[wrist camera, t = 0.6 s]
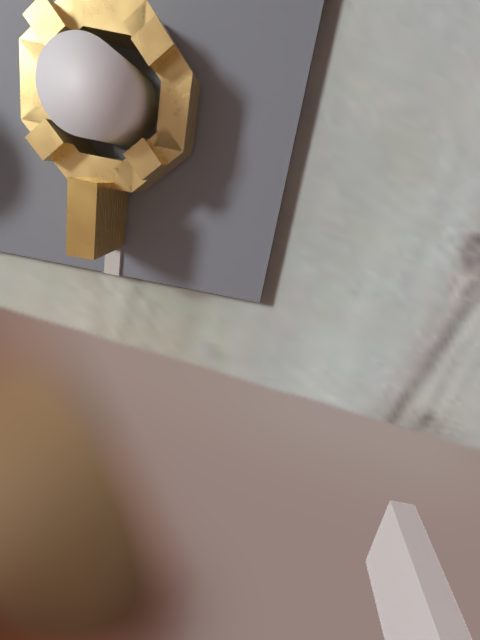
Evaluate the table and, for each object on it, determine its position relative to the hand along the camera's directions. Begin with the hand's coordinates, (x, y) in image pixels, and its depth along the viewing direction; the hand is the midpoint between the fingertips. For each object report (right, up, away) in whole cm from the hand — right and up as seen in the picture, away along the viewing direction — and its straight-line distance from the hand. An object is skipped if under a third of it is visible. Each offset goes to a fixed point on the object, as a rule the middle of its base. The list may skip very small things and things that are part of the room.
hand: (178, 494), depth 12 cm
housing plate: (-6, +21, +15) cm, 26 cm away
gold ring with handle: (-6, +18, +15) cm, 24 cm away
